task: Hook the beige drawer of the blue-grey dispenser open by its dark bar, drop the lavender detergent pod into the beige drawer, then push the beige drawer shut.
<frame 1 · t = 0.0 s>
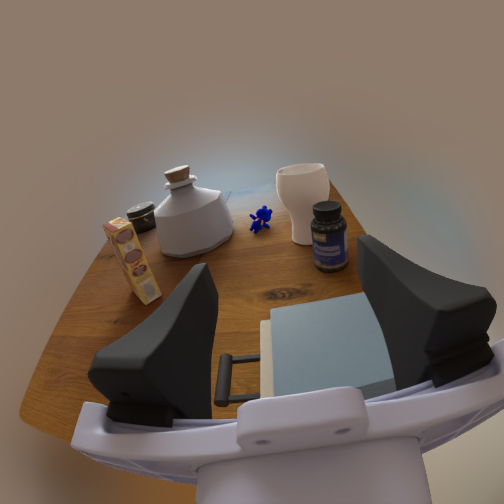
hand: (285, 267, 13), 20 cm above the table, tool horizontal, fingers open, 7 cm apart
beige drawer: (305, 372, 25), point 4 cm above the table, slide at 0.0 cm
pill bottle: (331, 264, 49), on the table
dispenser: (345, 387, 26), on the table
figurine: (263, 228, 69), on the table
bottle: (197, 241, 70), on the table
cup: (310, 237, 59), on the table
candy box: (146, 293, 53), on the table
jar: (146, 227, 91), on the table
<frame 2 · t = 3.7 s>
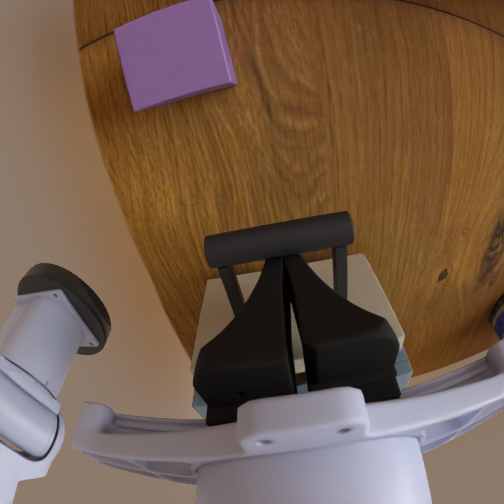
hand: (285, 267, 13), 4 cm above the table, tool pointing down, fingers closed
beige drawer: (298, 348, 16), point 4 cm above the table, slide at 0.9 cm
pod: (190, 60, 11), on the table
dispenser: (298, 343, 22), on the table
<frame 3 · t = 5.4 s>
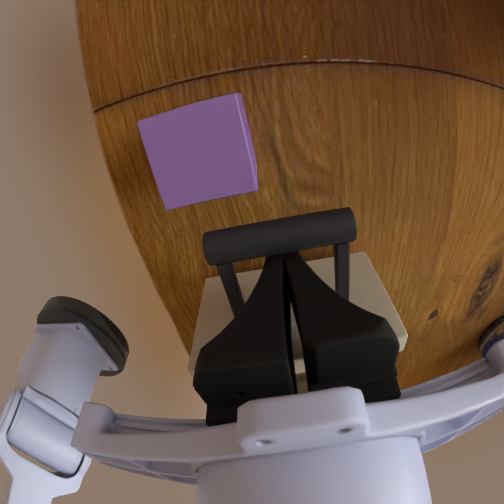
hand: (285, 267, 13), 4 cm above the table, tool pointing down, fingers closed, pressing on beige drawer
beige drawer: (298, 348, 16), point 4 cm above the table, slide at 5.5 cm, touching gripper
pill bottle: (493, 330, 24), on the table
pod: (211, 137, 13), on the table
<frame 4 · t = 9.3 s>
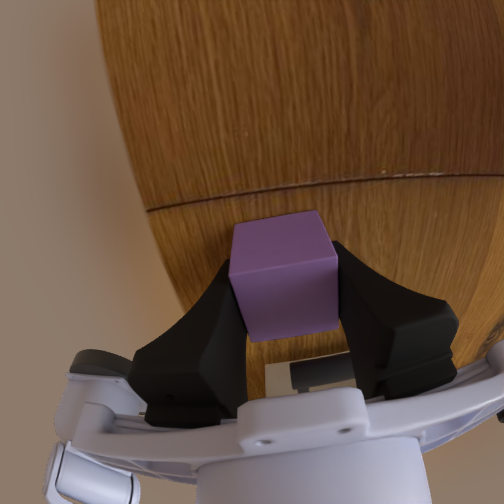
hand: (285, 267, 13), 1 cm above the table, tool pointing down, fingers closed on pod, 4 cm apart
beige drawer: (341, 416, 17), point 4 cm above the table, slide at 5.2 cm
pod: (281, 251, 14), on the table, touching gripper
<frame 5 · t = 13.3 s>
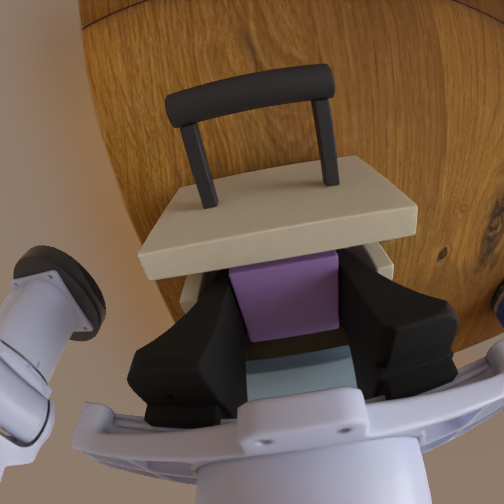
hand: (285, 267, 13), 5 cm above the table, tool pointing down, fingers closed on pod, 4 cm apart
beige drawer: (284, 263, 14), point 4 cm above the table, slide at 5.2 cm
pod: (282, 250, 14), point 3 cm above the table, touching gripper
dispenser: (295, 324, 22), on the table
when the fingers open (7 cm above the table, at t = 14.7 s): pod stays where it is, resting on beige drawer.
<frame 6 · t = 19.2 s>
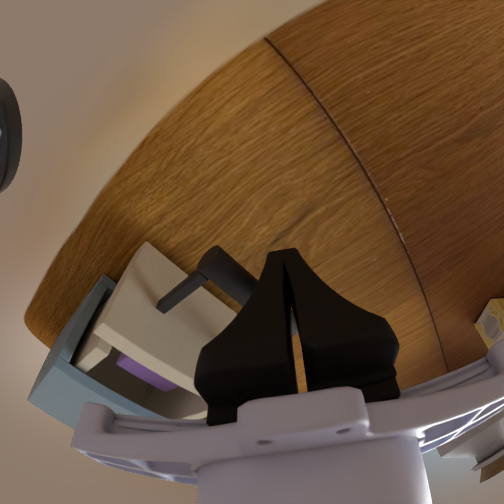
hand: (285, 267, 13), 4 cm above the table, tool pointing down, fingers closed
beige drawer: (160, 350, 17), point 4 cm above the table, slide at 4.4 cm, touching gripper, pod
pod: (169, 324, 18), point 2 cm above the table, touching beige drawer
dispenser: (122, 345, 23), on the table
bottle: (467, 386, 33), on the table
candy box: (500, 307, 22), on the table
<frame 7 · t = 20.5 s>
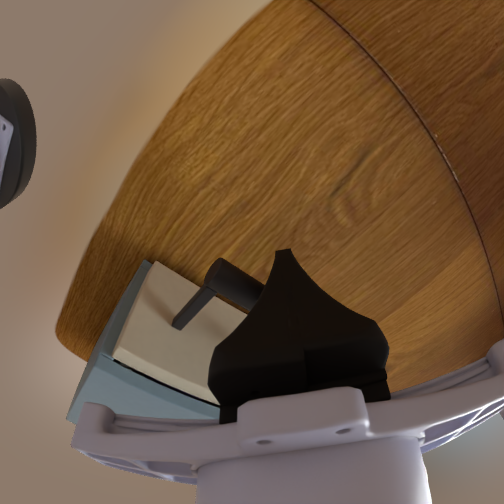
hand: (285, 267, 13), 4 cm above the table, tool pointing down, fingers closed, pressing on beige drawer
beige drawer: (184, 365, 17), point 4 cm above the table, slide at 0.0 cm, touching dispenser, gripper, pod
dispenser: (169, 344, 22), on the table
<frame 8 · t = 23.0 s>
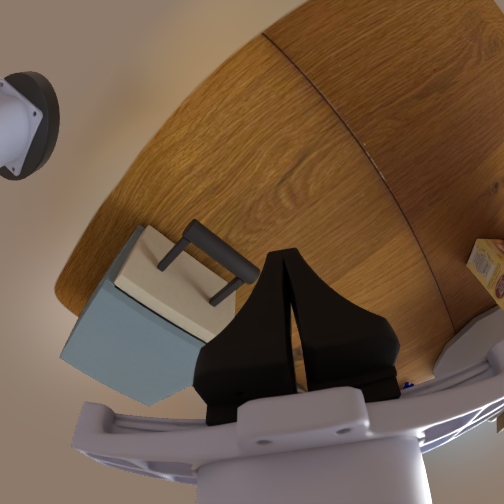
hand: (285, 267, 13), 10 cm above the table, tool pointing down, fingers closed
beige drawer: (162, 307, 23), point 4 cm above the table, slide at 0.0 cm, touching dispenser, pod
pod: (168, 289, 25), point 2 cm above the table, touching beige drawer
dispenser: (151, 298, 28), on the table
bottle: (473, 340, 37), on the table
candy box: (489, 250, 26), on the table
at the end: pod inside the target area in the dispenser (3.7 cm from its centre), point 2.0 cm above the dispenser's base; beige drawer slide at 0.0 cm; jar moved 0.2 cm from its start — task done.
